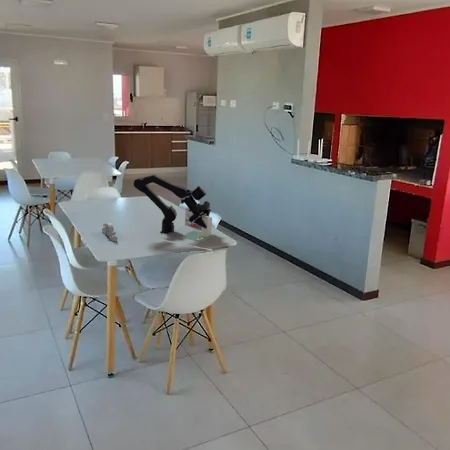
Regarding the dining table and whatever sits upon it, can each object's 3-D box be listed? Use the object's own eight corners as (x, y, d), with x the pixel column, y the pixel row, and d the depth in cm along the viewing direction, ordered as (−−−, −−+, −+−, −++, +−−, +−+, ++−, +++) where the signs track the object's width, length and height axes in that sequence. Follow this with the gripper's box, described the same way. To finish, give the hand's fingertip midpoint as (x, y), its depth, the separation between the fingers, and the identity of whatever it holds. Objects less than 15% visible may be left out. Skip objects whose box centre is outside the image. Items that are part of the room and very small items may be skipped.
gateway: (102, 232, 268) (101, 219, 266) (106, 232, 270) (105, 219, 268) (112, 242, 252) (112, 228, 250) (117, 242, 254) (117, 228, 252)
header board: (179, 238, 265) (179, 233, 264) (193, 232, 280) (193, 227, 279) (203, 243, 259) (203, 238, 258) (215, 236, 274) (216, 231, 273)
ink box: (199, 226, 293) (200, 208, 290) (194, 228, 289) (195, 209, 286) (189, 223, 297) (190, 206, 294) (184, 225, 294) (185, 207, 290)
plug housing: (201, 236, 269) (201, 217, 266) (205, 233, 274) (206, 215, 271) (206, 237, 268) (207, 218, 265) (211, 235, 273) (212, 216, 270)
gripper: (194, 199, 258) (211, 222, 257) (209, 194, 275) (224, 215, 274) (181, 211, 263) (198, 233, 262) (196, 205, 280) (212, 226, 279)
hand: (208, 226), depth 269 cm, fingers open, 7 cm apart
